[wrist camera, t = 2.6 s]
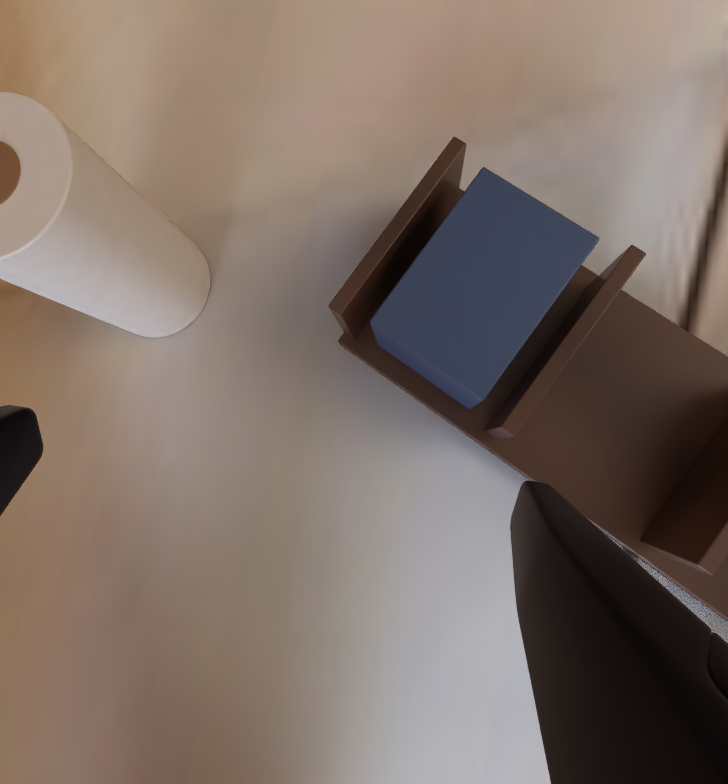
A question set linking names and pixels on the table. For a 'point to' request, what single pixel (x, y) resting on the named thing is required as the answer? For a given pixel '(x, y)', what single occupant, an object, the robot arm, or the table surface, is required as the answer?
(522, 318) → the slate box
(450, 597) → the table surface
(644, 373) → the rack
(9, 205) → the paper towel roll
